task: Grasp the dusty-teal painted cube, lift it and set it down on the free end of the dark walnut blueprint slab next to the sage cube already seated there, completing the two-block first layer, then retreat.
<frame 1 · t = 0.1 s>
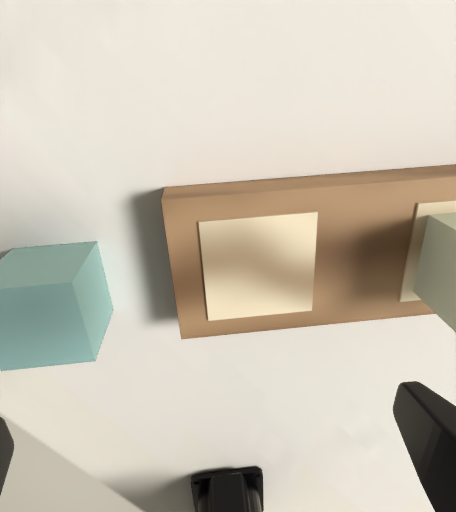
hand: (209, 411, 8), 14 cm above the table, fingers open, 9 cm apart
base slab: (344, 242, 23), on the table
teal cube: (66, 280, 23), on the table
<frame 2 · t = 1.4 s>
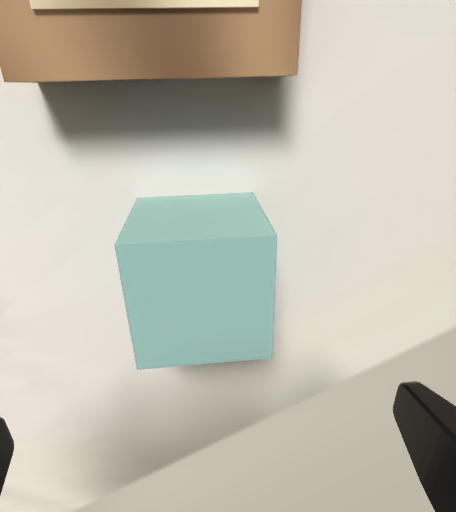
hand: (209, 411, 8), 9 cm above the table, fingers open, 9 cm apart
teal cube: (199, 246, 16), on the table
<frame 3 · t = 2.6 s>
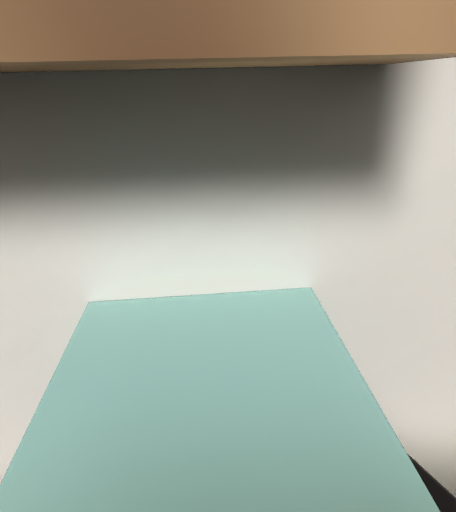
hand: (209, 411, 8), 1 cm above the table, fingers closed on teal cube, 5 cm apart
teal cube: (207, 377, 9), on the table, touching gripper
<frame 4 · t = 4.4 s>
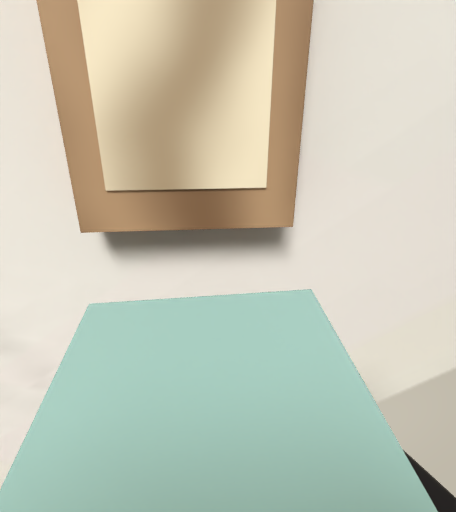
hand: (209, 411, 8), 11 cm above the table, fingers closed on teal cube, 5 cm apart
teal cube: (207, 379, 9), point 10 cm above the table, touching gripper
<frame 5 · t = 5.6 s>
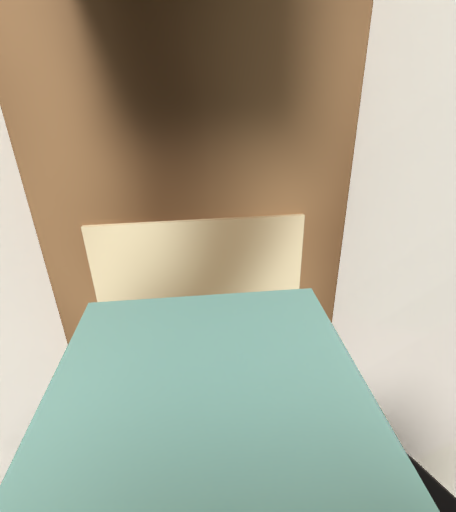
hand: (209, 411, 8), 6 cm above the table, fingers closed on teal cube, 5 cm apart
base slab: (189, 109, 11), on the table
teal cube: (207, 378, 9), point 5 cm above the table, touching gripper
when the fingers open (4 cm above the table, at t = 6.4 s): teal cube stays where it is, resting on base slab.
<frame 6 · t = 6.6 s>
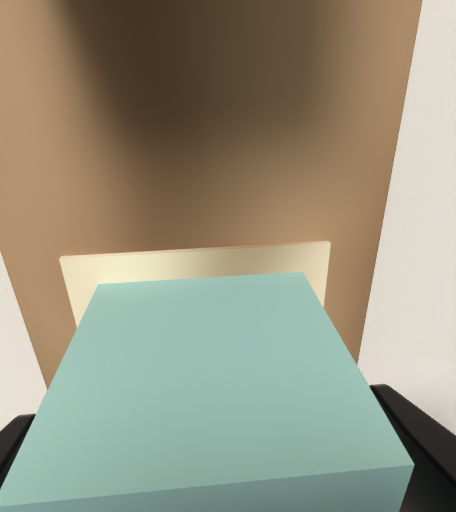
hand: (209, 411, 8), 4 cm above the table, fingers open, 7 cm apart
base slab: (190, 114, 9), on the table
teal cube: (207, 356, 10), point 3 cm above the table, touching base slab
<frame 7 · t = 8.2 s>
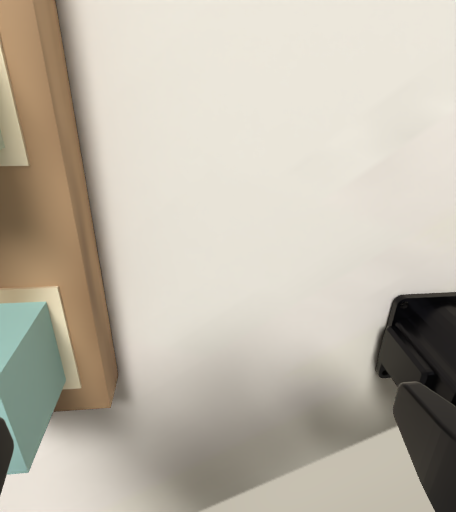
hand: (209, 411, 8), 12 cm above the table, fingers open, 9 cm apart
teal cube: (4, 346, 18), point 3 cm above the table, touching base slab
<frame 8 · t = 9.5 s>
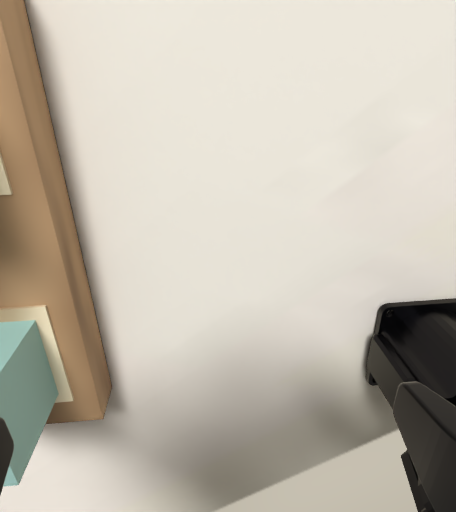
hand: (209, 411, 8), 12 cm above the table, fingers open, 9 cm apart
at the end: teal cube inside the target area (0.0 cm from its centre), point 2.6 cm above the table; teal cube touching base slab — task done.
